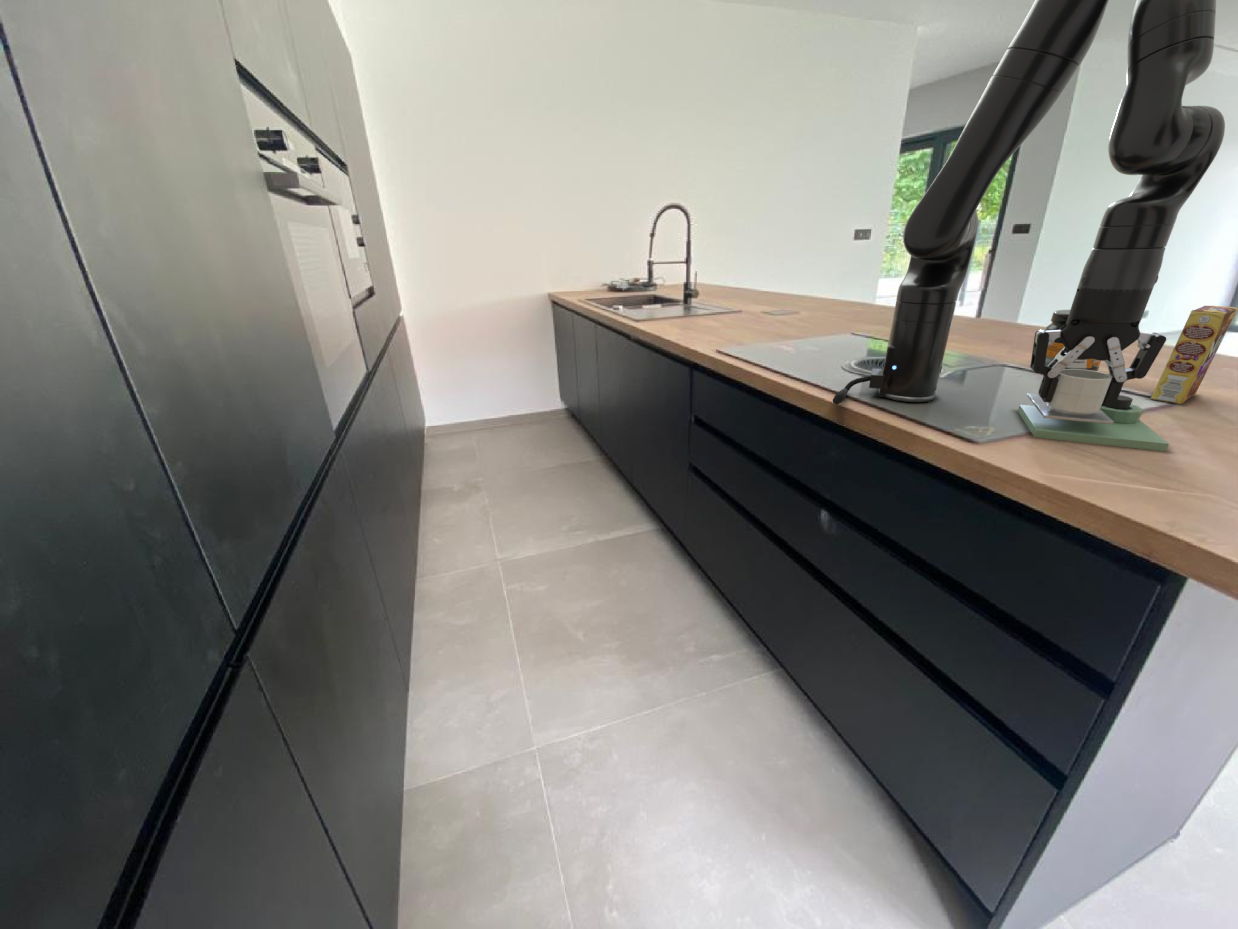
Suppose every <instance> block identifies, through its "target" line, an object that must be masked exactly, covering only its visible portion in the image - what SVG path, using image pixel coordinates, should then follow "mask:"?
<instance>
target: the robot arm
mask: <svg viewBox="0 0 1238 929" xmlns="http://www.w3.org/2000/svg"><path fill="white" fill-rule="evenodd" d="M1134 1H1135V2H1134V5H1133V9H1132V12H1131V17H1130V22H1129V29H1128V36H1127V56H1126V57H1127V58H1126V63H1127V64H1126V85H1125V89H1124V92H1123V94H1122V98H1121V100H1120V103H1119V106H1118V109H1117V112H1116V116H1115V119H1114V122H1113V125H1112V128H1111V132H1110V136H1109V138H1108V146H1107V147H1108V149H1107V150H1108V158H1109V161H1110V163H1111V165H1112V167H1113V168H1114V170H1115V171H1117V172H1118V173H1119V174H1121V175H1127V176H1140V179H1139V181H1138V182H1137V184H1136V186H1135V187H1134V189H1133V190H1132V192H1131V193H1130V194H1129V195H1128V196H1127V197H1125V198H1122V199H1121V198H1120V199H1119V200H1116V201H1114V202H1113V203H1111V204H1109V205H1108V207H1107V208H1106V210H1105V211H1104V214H1103V215H1102V219H1101V222H1100V225H1099V228H1098V230H1097V234H1096V236H1095V240H1094V243H1093V246H1092V249H1091V251H1090V254H1089V256H1088V258H1087V260H1086V262H1085V264H1084V266H1083V270H1082V272H1081V275H1080V279H1079V282H1078V285H1077V288H1076V291H1075V295H1074V297H1073V301H1072V304H1071V306H1070V309H1069V310H1070V313H1069V316H1068V319H1067V322H1066V324H1065V325H1064V326H1063V327H1062V328H1061V329H1060V330H1052V331H1044V330H1045V329H1037V330H1036V331H1035V332H1034V338H1033V343H1032V344H1033V345H1032V352H1031V358H1030V359H1031V360H1030V365H1029V366H1030V369H1032V370H1033V372H1034V373H1036V374H1039V375H1042V380H1041V381H1040V382H1041V383H1040V386H1039V389H1038V391H1037V392H1038V393H1037V394H1039V396H1040V397H1041V398H1042V400H1043V401H1044V402H1051V400H1052V397H1053V394H1054V391H1055V388H1056V385H1057V382H1058V378H1056V377H1057V376H1058V375H1059V374H1060V373H1061V372H1062V371H1063V370H1064V369H1065V368H1066V367H1067V366H1069V365H1070V364H1072V363H1073V362H1074V361H1075V360H1076V359H1079V360H1086V359H1095V360H1100V361H1101V362H1104V363H1105V364H1106V366H1107V370H1108V374H1110V375H1111V376H1113V379H1112V381H1111V384H1110V386H1109V389H1108V392H1107V394H1106V397H1105V399H1104V402H1103V405H1102V406H1104V407H1109V406H1110V404H1111V403H1115V402H1116V401H1117V399H1118V397H1119V395H1121V391H1122V388H1123V386H1124V384H1125V383H1126V382H1127V381H1130V380H1135V379H1138V380H1140V379H1143V378H1145V377H1146V376H1147V374H1148V373H1149V370H1150V369H1151V367H1152V366H1153V364H1154V362H1155V361H1156V359H1157V357H1158V355H1159V353H1160V352H1161V350H1162V348H1163V347H1164V346H1165V343H1166V342H1167V336H1165V335H1162V334H1160V333H1158V332H1150V333H1149V332H1148V333H1147V332H1141V331H1140V327H1139V326H1140V323H1141V321H1142V319H1143V316H1144V313H1145V311H1146V308H1147V306H1148V303H1149V300H1150V297H1151V295H1152V294H1153V293H1152V292H1153V289H1154V287H1155V285H1156V284H1157V283H1158V280H1159V273H1160V272H1161V268H1162V265H1163V260H1164V255H1165V251H1166V247H1167V245H1168V244H1169V240H1170V238H1171V236H1172V235H1171V234H1172V232H1173V229H1174V227H1175V224H1176V221H1177V218H1178V215H1179V212H1180V211H1181V209H1182V208H1183V206H1184V205H1185V203H1186V202H1187V201H1188V199H1189V198H1190V197H1191V195H1192V194H1193V193H1194V191H1195V189H1196V188H1197V187H1198V185H1199V183H1200V182H1201V180H1202V178H1203V177H1204V175H1205V174H1206V172H1207V171H1208V170H1209V168H1210V166H1211V165H1212V163H1213V162H1214V160H1215V159H1216V157H1217V156H1218V155H1217V154H1218V153H1219V151H1220V149H1221V147H1222V144H1223V141H1224V138H1225V131H1226V130H1225V129H1226V121H1225V117H1224V115H1223V113H1222V112H1221V111H1220V110H1219V109H1217V108H1216V107H1213V106H1209V105H1183V96H1184V92H1185V89H1186V86H1188V85H1189V84H1191V83H1193V82H1194V81H1196V80H1198V79H1199V78H1200V77H1201V76H1202V75H1204V73H1205V72H1206V71H1208V69H1209V66H1211V63H1212V60H1213V56H1214V55H1213V54H1214V50H1215V49H1214V48H1215V35H1216V34H1215V33H1216V18H1217V17H1216V13H1217V0H1134ZM1108 4H1109V0H1034V2H1033V3H1032V6H1031V8H1029V11H1028V12H1027V14H1026V17H1025V18H1024V20H1023V22H1022V24H1021V25H1020V27H1019V29H1018V30H1017V32H1016V34H1015V35H1014V37H1013V39H1012V40H1011V42H1010V44H1009V45H1008V47H1007V49H1006V51H1005V52H1004V54H1003V55H1002V58H1001V59H1000V61H999V62H998V65H997V66H996V68H995V70H994V72H993V73H992V76H991V77H990V79H989V80H988V82H987V85H986V87H985V89H984V91H983V92H982V94H981V96H980V98H979V100H978V102H977V103H976V105H975V107H974V109H973V111H972V113H971V115H970V116H969V118H968V120H967V122H966V124H965V125H964V127H963V130H962V131H961V133H960V136H959V137H958V139H957V141H956V143H955V145H954V148H953V149H952V151H951V153H950V155H949V157H948V158H947V160H946V161H945V163H944V165H943V166H942V168H941V169H940V171H939V172H938V174H937V176H936V177H935V178H934V180H933V181H932V183H931V184H930V185H929V187H928V188H927V189H926V192H925V193H924V194H923V196H922V197H921V199H920V200H919V202H918V203H917V205H916V206H915V208H914V209H913V211H912V212H911V214H910V215H909V217H908V219H907V220H906V223H905V226H904V229H903V236H902V238H903V245H904V248H905V250H906V252H907V253H908V254H909V255H910V259H909V263H908V267H907V270H906V273H905V275H904V278H903V280H902V281H901V282H900V284H899V286H898V290H897V294H896V300H895V306H894V310H893V316H892V322H891V327H890V333H889V337H888V342H887V345H886V352H885V355H884V356H885V357H884V363H883V368H876V367H875V368H874V367H873V368H872V369H871V374H870V375H866V376H862V377H861V376H860V377H858V378H855V379H853V380H850V381H849V382H847V384H846V385H845V386H844V388H841V390H838V392H837V393H836V394H834V397H833V398H832V403H833V404H834V405H839V404H841V403H842V402H843V401H844V400H845V399H846V397H847V395H848V394H849V391H850V390H851V389H852V387H854V386H856V385H858V384H861V383H866V382H869V385H868V389H877V390H878V398H885V399H889V400H892V401H899V402H906V403H926V402H931V401H933V400H934V399H935V398H936V395H937V394H936V391H937V389H938V383H939V378H940V374H941V373H942V370H943V362H944V358H945V352H946V349H947V345H948V340H949V336H950V332H951V327H952V324H953V320H954V315H955V311H956V307H957V303H958V302H957V301H958V298H959V295H960V291H961V289H962V287H963V285H964V282H965V280H966V276H967V274H968V270H969V265H970V262H971V259H972V255H973V250H974V247H975V243H976V238H977V234H978V230H979V229H978V228H979V216H978V212H977V209H978V207H979V205H980V204H981V201H982V200H983V197H984V196H985V194H986V193H987V191H988V189H989V188H990V185H991V184H992V183H993V181H994V179H995V178H996V176H997V174H998V173H999V172H1000V170H1001V169H1002V168H1003V166H1004V165H1005V164H1006V163H1007V161H1008V160H1009V159H1010V158H1011V157H1012V156H1013V154H1014V153H1015V152H1016V151H1017V150H1018V149H1019V148H1020V147H1021V146H1022V144H1023V143H1024V142H1025V141H1026V140H1027V139H1028V138H1029V136H1030V135H1032V133H1033V132H1034V130H1035V129H1036V128H1037V127H1038V126H1039V125H1040V123H1041V122H1042V121H1043V120H1044V119H1045V117H1047V115H1048V114H1049V112H1050V111H1051V110H1052V109H1053V107H1054V106H1055V104H1056V103H1057V101H1058V99H1059V98H1060V97H1061V95H1062V94H1063V92H1064V91H1065V89H1066V88H1067V86H1068V85H1069V83H1070V81H1071V80H1072V78H1073V77H1074V75H1075V74H1076V72H1077V70H1078V69H1079V67H1080V66H1081V65H1082V62H1083V61H1084V60H1085V58H1086V56H1087V55H1088V52H1089V50H1090V48H1091V46H1092V45H1093V42H1094V40H1095V38H1096V36H1097V34H1098V31H1099V29H1100V26H1101V24H1102V21H1103V18H1104V15H1105V13H1106V12H1105V11H1106V9H1107V7H1108ZM1059 337H1060V339H1061V341H1062V343H1063V344H1064V346H1065V347H1064V348H1063V349H1062V350H1061V351H1060V352H1059V353H1058V354H1057V355H1056V356H1055V358H1054V360H1053V361H1052V362H1051V363H1050V364H1049V365H1045V361H1046V354H1047V348H1048V346H1050V345H1052V344H1053V343H1054V341H1055V339H1057V338H1059ZM1135 342H1137V348H1138V351H1137V353H1136V354H1135V357H1134V358H1133V360H1132V362H1131V364H1130V366H1129V367H1128V368H1126V367H1125V366H1126V363H1125V359H1124V355H1123V351H1124V350H1125V349H1127V348H1128V347H1129V346H1131V345H1132V344H1133V343H1135ZM1065 352H1066V353H1065ZM1071 356H1072V357H1071Z"/></svg>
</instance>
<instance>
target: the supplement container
mask: <svg viewBox="0 0 1238 929" xmlns="http://www.w3.org/2000/svg"><path fill="white" fill-rule="evenodd" d="M1070 310H1071V309H1058V310H1055V311H1053V313H1052V316H1051V318H1050V322H1051V323H1050V324H1048V325H1046V327H1045V328H1044V329H1043V330H1044V331H1052V330H1060V329H1061V328H1062V327H1063V326H1064V325H1065V324H1066V322H1067V319H1068V316H1069V313H1070ZM1064 347H1065V346H1064V344H1063V343H1062V341H1061V339H1060V337H1059V338H1057V339H1055V341H1054V343H1053V344H1052V345H1050V346H1048V348H1047V354H1046V361H1045V365H1049V364H1050V363H1051V362H1052V361H1053V360H1054V358H1055V356H1056V355H1057V354H1058V353H1059V352H1060V351H1061V350H1062V349H1063V348H1064ZM1065 353H1066V352H1065ZM1071 357H1072V356H1071ZM1101 362H1102V361H1100V360H1095V359H1086V360H1079V359H1076V360H1075V361H1074V362H1073V363H1072V364H1070V365H1069V366H1067V367H1066V368H1065V369H1084V370H1092V371H1098V372H1099V369H1100V365H1101Z"/></svg>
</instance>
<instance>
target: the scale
mask: <svg viewBox="0 0 1238 929" xmlns="http://www.w3.org/2000/svg"><path fill="white" fill-rule="evenodd" d="M1101 411H1103V412H1104V413H1105V414H1106V415H1107V416H1108V417H1109V418H1110V419H1111V420H1112V421H1113V422H1114V423H1113V424H1104V423H1093V422H1083V421H1072V420H1062V419H1051V418H1044V417H1043V416H1042V415H1041V413H1040V412H1039V411H1038V409H1037V408H1036V407H1035V405H1029V404H1019V406H1018V409H1017V413H1018V414H1019V416H1020V417H1021V418H1022V420H1023V422H1024V424H1025V425H1026V426H1027V428H1028V429H1029V431H1030V434H1032V436H1033V437H1034V438H1039V439H1049V440H1056V441H1057V440H1058V441H1067V442H1075V443H1085V444H1094V445H1103V446H1112V447H1122V448H1130V449H1131V448H1132V449H1140V450H1150V451H1157V452H1159V451H1160V452H1167V450H1168V448H1169V446H1170V443H1169V442H1168V441H1166V440H1165V439H1164V438H1162V437H1161V435H1159V434H1158V433H1157V432H1155V431H1154V430H1153V429H1152V428H1150V427H1149V426H1148V425H1147V424H1146V423H1144V422H1143V421H1142V420H1141V416H1142V415H1143V413H1144V409H1143V408H1142V407H1140V406H1139V405H1135V404H1132V403H1131V405H1130V408H1129V410H1120V409H1113V408H1107V407H1104V406H1102V407H1101Z"/></svg>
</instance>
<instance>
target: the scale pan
mask: <svg viewBox="0 0 1238 929" xmlns="http://www.w3.org/2000/svg"><path fill="white" fill-rule="evenodd" d="M1026 397H1027V398H1028V399H1029V400H1030V402H1031V403H1032V404H1033V406H1035V407H1036V408H1037V409H1038V411H1039V412H1040V413H1041V415H1042V416H1043V417H1044V418H1051V419H1062V420H1072V421H1083V422H1093V423H1104V424H1113V423H1114V422H1113V421H1112V420H1111V419H1110V418H1109V417H1108V416H1107V415H1106V414H1105V413H1104V412H1103V411H1101V410H1100V411H1099V412H1096V413H1094V414H1092V415H1071V414H1065V413H1061V412H1057V411H1055V410H1053V409H1051V408H1050V406H1048V405H1047V404H1046V403H1047V402H1044V401H1043V400H1042V398H1041V397H1040V396H1039V393H1032V392H1031V393H1030V392H1028V393H1027V394H1026Z"/></svg>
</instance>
